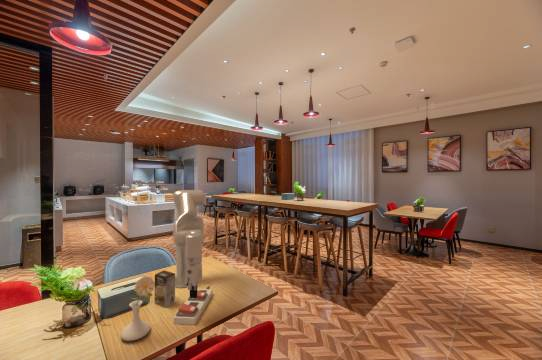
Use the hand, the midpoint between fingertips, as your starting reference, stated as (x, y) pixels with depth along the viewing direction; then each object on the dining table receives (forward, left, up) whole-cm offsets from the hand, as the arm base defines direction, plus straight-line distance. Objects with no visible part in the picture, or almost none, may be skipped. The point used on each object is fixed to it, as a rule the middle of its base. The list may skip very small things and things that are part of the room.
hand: (193, 297), depth 114 cm
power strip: (-3, +14, -11) cm, 18 cm away
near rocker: (-3, 0, -7) cm, 7 cm away
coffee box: (-21, +13, -11) cm, 27 cm away
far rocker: (-3, +14, -7) cm, 16 cm away
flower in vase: (-20, -12, -11) cm, 26 cm away
